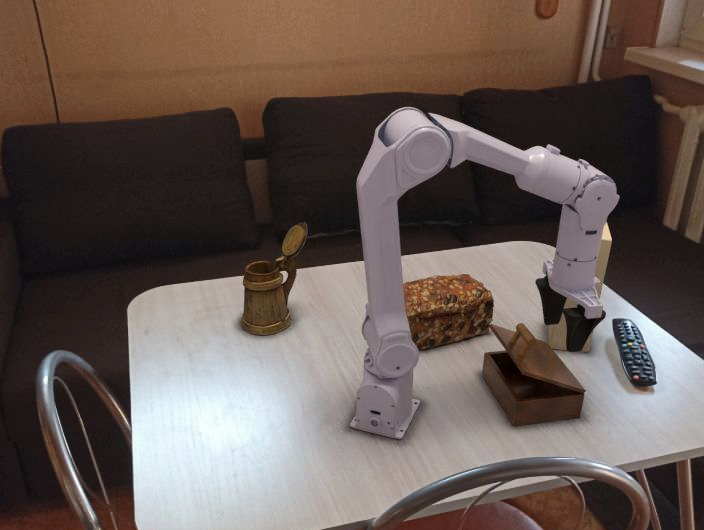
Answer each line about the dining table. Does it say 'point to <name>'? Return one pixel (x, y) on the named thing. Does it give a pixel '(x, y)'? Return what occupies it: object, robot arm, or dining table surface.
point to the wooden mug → (271, 287)
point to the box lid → (535, 357)
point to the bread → (446, 309)
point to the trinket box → (528, 393)
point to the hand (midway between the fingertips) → (562, 336)
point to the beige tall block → (560, 330)
